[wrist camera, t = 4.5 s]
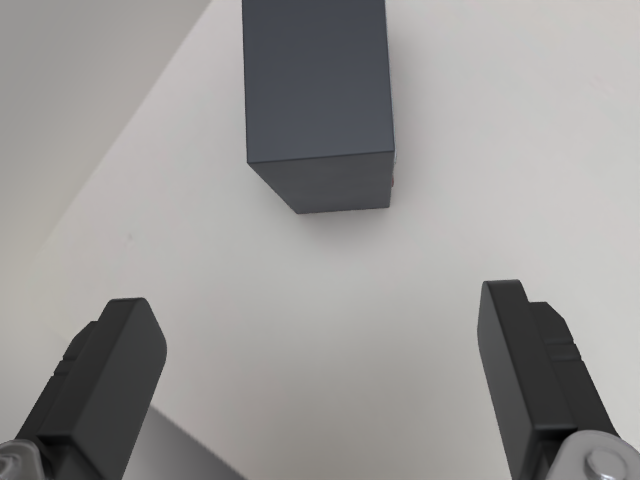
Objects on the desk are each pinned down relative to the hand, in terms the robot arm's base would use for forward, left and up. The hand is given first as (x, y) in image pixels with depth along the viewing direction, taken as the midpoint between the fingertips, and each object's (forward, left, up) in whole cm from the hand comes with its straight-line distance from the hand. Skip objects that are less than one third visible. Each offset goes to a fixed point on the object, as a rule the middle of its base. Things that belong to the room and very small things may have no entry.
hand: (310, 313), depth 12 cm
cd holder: (+3, +9, -14) cm, 17 cm away
